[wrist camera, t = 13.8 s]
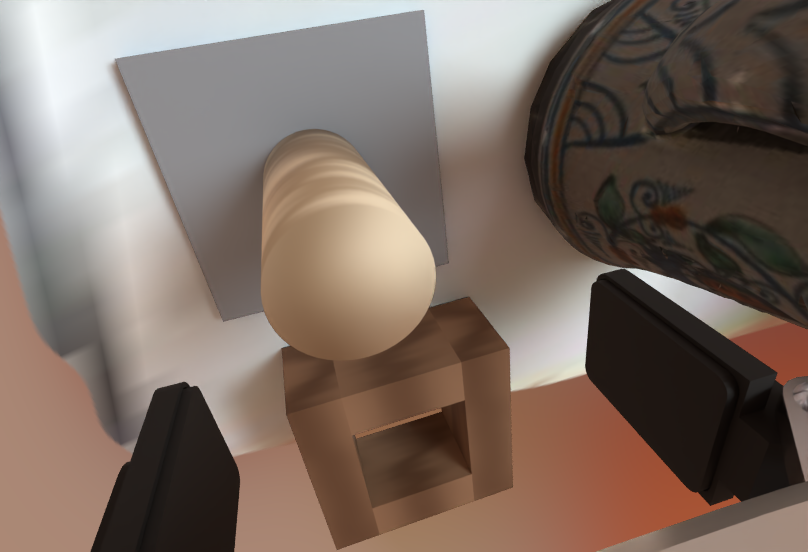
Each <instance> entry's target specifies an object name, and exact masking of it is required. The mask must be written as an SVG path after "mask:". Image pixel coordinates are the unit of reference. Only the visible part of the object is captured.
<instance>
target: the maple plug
mask: <svg viewBox="0 0 808 552" xmlns="http://www.w3.org/2000/svg"><path fill="white" fill-rule="evenodd" d="M435 284H436V268H435V263H434V258H433V255H432V252H431V250H430V248H429V246H428V244H427V242H426V240H425V239H424V238H423V236H422V235H421V234H420V232H419V231H418V230H417V228H416V227H415V226H414V224H413V223H412V222H411V221H410V219H409V218H408V217H407V215H406V214H405V213H404V211H403V210H402V209H401V208H400V206H399V205H398V204H397V202H396V201H395V200H394V198H393V197H392V196H391V194H390V193H389V192H388V191H387V189H386V188H385V187H384V185H383V184H382V183H381V181H380V180H379V179H378V178H377V176H376V175H375V174H374V172H373V171H372V170H371V168H370V167H369V166H368V165H367V163H366V162H365V161H364V159H363V158H362V157H361V155H360V154H359V153H358V151H357V150H356V149H355V148H354V146H353V145H352V144H351V143H350V142H348V141H347V140H346V139H345V138H343V137H341V136H340V135H338V134H336V133H333V132H331V131H327V130H322V129H306V130H301V131H298V132H295V133H293V134H290V135H289V136H287V137H285V138H284V139H282V140H281V141H280V142H279V143H278V144H277V145H276V146H275V147H274V148H273V150H272V151H271V153H270V154H269V156H268V158H267V161H266V164H265V167H264V173H263V213H262V258H261V299H262V305H263V308H264V312H265V314H266V317H267V319H268V321H269V323H270V324H271V326H272V327H273V329H274V330H275V332H276V333H277V334H278V335H279V336H280V337H281V338H282V339H283V340H284V341H285V342H287V343H288V344H289V345H290V346H292V347H294V348H295V349H297V350H299V351H301V352H303V353H305V354H307V355H310V356H313V357H316V358H321V359H326V360H336V361H345V360H355V359H361V358H365V357H369V356H372V355H375V354H378V353H380V352H383V351H385V350H387V349H389V348H391V347H392V346H394V345H396V344H397V343H399V342H400V341H401V340H403V339H404V338H405V337H406V336H407V335H409V334H410V333H411V332H412V331H413V330H414V329H415V327H416V326H417V325H418V324H419V323H420V321H421V320H422V318H423V317H424V315H425V314H426V312H427V310H428V308H429V306H430V303H431V301H432V298H433V295H434V290H435Z"/></svg>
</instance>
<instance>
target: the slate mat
mask: <svg viewBox="0 0 808 552" xmlns="http://www.w3.org/2000/svg"><path fill="white" fill-rule="evenodd" d="M115 60H116V63H117V65H118V68H119V70H120V72H121V75H122V77H123V80H124V82H125V85H126V87H127V89H128V92H129V94H130V97H131V99H132V101H133V104H134V106H135V109H136V111H137V114H138V116H139V118H140V121H141V123H142V126H143V128H144V131H145V133H146V135H147V138H148V140H149V143H150V145H151V148H152V150H153V152H154V155H155V157H156V160H157V162H158V164H159V167H160V169H161V172H162V174H163V177H164V179H165V181H166V184H167V186H168V189H169V191H170V194H171V196H172V198H173V201H174V203H175V206H176V208H177V211H178V213H179V215H180V218H181V220H182V223H183V225H184V228H185V230H186V232H187V235H188V237H189V240H190V242H191V244H192V247H193V249H194V252H195V254H196V257H197V259H198V261H199V264H200V266H201V269H202V271H203V274H204V276H205V278H206V281H207V283H208V286H209V288H210V291H211V293H212V295H213V298H214V300H215V303H216V305H217V307H218V310H219V312H220V315H221V317H222V320H223V322H224V321H228V320H232V319H236V318H240V317H243V316H247V315H251V314H255V313H259V312H263V311H264V308H263V305H262V299H261V258H262V213H263V173H264V167H265V164H266V161H267V158H268V156H269V154H270V153H271V151H272V150H273V148H274V147H275V146H276V145H277V144H278V143H279V142H280V141H281V140H282V139H284V138H285V137H287V136H289V135H290V134H293V133H295V132H298V131H301V130H306V129H322V130H327V131H331V132H333V133H336V134H338V135H340V136H341V137H343V138H345V139H346V140H347V141H348V142H350V143H351V144H352V145H353V146H354V148H355V149H356V150H357V151H358V153H359V154H360V155H361V157H362V158H363V159H364V161H365V162H366V163H367V165H368V166H369V167H370V168H371V170H372V171H373V172H374V174H375V175H376V176H377V178H378V179H379V180H380V181H381V183H382V184H383V185H384V187H385V188H386V189H387V191H388V192H389V193H390V194H391V196H392V197H393V198H394V200H395V201H396V202H397V204H398V205H399V206H400V208H401V209H402V210H403V211H404V213H405V214H406V215H407V217H408V218H409V219H410V221H411V222H412V223H413V224H414V226H415V227H416V228H417V230H418V231H419V232H420V234H421V235H422V236H423V238H424V239H425V240H426V242H427V244H428V246H429V248H430V250H431V252H432V255H433V258H434V263H435V267H436V266H440V265H444V264H448V263H449V261H448V250H447V240H446V230H445V220H444V210H443V199H442V189H441V179H440V169H439V158H438V148H437V138H436V128H435V118H434V107H433V97H432V87H431V77H430V66H429V56H428V46H427V36H426V26H425V15H424V10H420V11H413V12H407V13H401V14H394V15H388V16H382V17H375V18H369V19H363V20H356V21H350V22H344V23H338V24H331V25H325V26H319V27H312V28H306V29H300V30H293V31H287V32H281V33H275V34H268V35H262V36H256V37H249V38H243V39H237V40H230V41H224V42H218V43H211V44H205V45H199V46H193V47H186V48H180V49H174V50H167V51H161V52H155V53H148V54H142V55H136V56H130V57H123V58H118V59H115Z"/></svg>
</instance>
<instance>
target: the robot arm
mask: <svg viewBox="0 0 808 552" xmlns="http://www.w3.org/2000/svg"><path fill="white" fill-rule="evenodd" d="M585 368H586V372H587V375H588V377H589V379H590V380H591V381H592V382H593V384H594V385H595V386H596V387H597V388H598V389H599V390H600V391H601V392H602V394H603V395H604V396H605V397H606V398H607V399H608V400H609V401H610V402H611V404H612V405H613V406H614V407H615V408H616V409H617V410H618V411H619V412H620V414H621V415H622V416H623V417H624V418H625V419H626V420H627V421H628V423H630V425H631V426H632V427H633V428H634V429H635V430H636V431H637V433H638V434H639V435H640V436H641V437H642V438H643V439H644V440H645V441H646V443H647V444H648V445H649V446H650V447H651V448H652V449H653V450H654V451H655V453H656V454H657V455H658V456H659V457H660V458H661V459H662V460H663V462H664V463H665V464H666V465H667V466H668V467H669V468H670V469H671V470H672V472H673V473H674V474H675V475H676V476H677V477H678V478H679V479H680V481H681V482H682V483H683V484H684V485H685V486H686V487H687V488H688V489H689V490H691V491H692V492H698V493H699V494H700V495H701V496H702V497H703V498H704V499H705V500H706V502H708V504H709V505H710V506H711V505H714V504H717V503H720V502H722V501H725V500H728V499H731V498H733V496H734V495H735V496H736V497H737V498H738V499H739V500H740V501H741V502H739V503H736V504H733V505H730V506H727V507H724V508H721V509H718V510H715V511H712V512H710V513H706V514H704V515H701V516H698V517H695V518H692V519H689V520H686V521H683V522H681V523H678V524H675V525H672V526H669V527H666V528H663V529H660V530H657V531H654V532H651V533H649V534H646V535H643V536H640V537H637V538H634V539H632V540H629V541H625V542H623V543H620V544H617V545H614V546H611V547H608V548H606V549H603V550H600V551H597V552H808V376H804V377H796V378H794V379H791V380H789V381H788V382H787V383H786V384H785V385H784V386H783V385H781V384H780V383H778V382H777V381H776V380H775V379H776V376H777V372H776V371H774V370H773V369H771V368H770V367H768V366H767V365H765V364H764V363H762V362H761V361H759V360H758V359H757V358H755V357H754V356H752V355H751V354H749V353H748V352H746V351H745V350H743V349H742V348H741V347H739V346H738V345H736V344H735V343H733V342H732V341H730V340H729V339H727V338H726V337H724V336H723V335H721V334H720V333H719V332H717V331H716V330H714V329H713V328H711V327H710V326H708V325H707V324H705V323H704V322H702V321H701V320H699V319H698V318H697V317H695V316H694V315H692V314H691V313H689V312H688V311H686V310H685V309H683V308H682V307H680V306H679V305H677V304H676V303H675V302H673V301H672V300H670V299H669V298H667V297H666V296H664V295H663V294H661V293H660V292H658V291H657V290H655V289H654V288H653V287H651V286H650V285H648V284H647V283H645V282H644V281H642V280H641V279H639V278H638V277H636V276H635V275H634V274H632V273H631V272H629V271H627V270H625V269H619V270H615V271H611V272H607V273H604V274H601V275H599V276H598V278H597V281H596V282H594V283H593V284H592V288H591V300H590V313H589V325H588V338H587V350H586V363H585ZM239 488H240V476H239V471H238V467H237V465H236V463H235V461H234V459H233V457H232V455H231V453H230V450H229V448H228V446H227V444H226V442H225V440H224V438H223V436H222V434H221V432H220V430H219V428H218V426H217V424H216V422H215V420H214V418H213V416H212V413H211V411H210V409H209V407H208V405H207V403H206V401H205V399H204V397H203V395H202V393H201V391H200V389H199V388H198V387H197V386H193V387H190V386H189V384H187V383H186V382H182V383H178V384H174V385H170V386H166V387H162V388H158V389H157V390H155V392H154V394H153V397H152V400H151V403H150V406H149V409H148V412H147V414H146V417H145V420H144V423H143V426H142V429H141V432H140V435H139V438H138V441H137V444H136V446H135V449H134V452H133V455H132V458H131V461H130V462H127V463H126V464H124V465H123V466H122V468H121V470H120V472H119V474H118V477H117V480H116V482H115V485H114V488H113V491H112V494H111V496H110V499H109V502H108V505H107V508H106V510H105V513H104V516H103V518H102V522H101V524H100V527H99V530H98V532H97V535H96V538H95V541H94V544H93V546H92V549H91V552H234V548H235V536H236V523H237V512H238V499H239Z"/></svg>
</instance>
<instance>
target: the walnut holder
mask: <svg viewBox="0 0 808 552" xmlns="http://www.w3.org/2000/svg"><path fill="white" fill-rule="evenodd" d="M282 359H283V373H284V388H285V402H286V415H287V418H288V420H289V423H290V426H291V428H292V431H293V434H294V436H295V439H296V442H297V444H298V447H299V450H300V452H301V455H302V458H303V461H304V463H305V466H306V469H307V471H308V474H309V477H310V479H311V482H312V484H313V487H314V490H315V492H316V495H317V498H318V501H319V503H320V506H321V508H322V511H323V514H324V516H325V519H326V522H327V525H328V527H329V530H330V532H331V535H332V538H333V540H334V543H335V546H336V549H337V550H338V549H341V548H344V547H347V546H349V545H352V544H355V543H358V542H361V541H363V540H366V539H369V538H372V537H375V536H377V535H380V534H383V533H386V532H389V531H392V530H394V529H397V528H400V527H403V526H406V525H408V524H411V523H414V522H417V521H420V520H422V519H425V518H428V517H431V516H433V515H437V514H439V513H442V512H445V511H447V510H451V509H453V508H456V507H459V506H462V505H465V504H467V503H470V502H473V501H476V500H478V499H481V498H484V497H487V496H490V495H493V494H495V493H498V492H501V491H504V490H507V489H509V488H512V487H513V476H512V434H511V395H510V394H511V391H510V349H509V347H508V345H507V344H506V343H505V342H504V340H503V339H502V338H501V336H500V335H499V334H498V333H497V331H496V330H495V329H494V328H493V326H492V325H491V324H490V323H489V321H488V320H487V319H486V317H485V316H484V315H483V314H482V312H481V311H480V310H479V309H478V307H477V306H476V305H475V303H474V302H473V301H472V300H471V298H470V297H467V298H463V299H460V300H456V301H452V302H449V303H445V304H441V305H438V306H434V307H431V308H428V310H427V312H426V314H425V315H424V317H423V318H422V320H421V321H420V323H419V324H418V325H417V326H416V327H415V329H414V330H413V331H412V332H411V333H410V334H409V335H407V336H406V337H405V338H404V339H403V340H401V341H400V342H399V343H397V344H396V345H394V346H392V347H391V348H389V349H387V350H385V351H383V352H380V353H378V354H375V355H372V356H369V357H365V358H361V359H355V360H345V361H336V360H326V359H321V358H316V357H313V356H310V355H307V354H305V353H303V352H301V351H299V350H297V349H295V348H294V347H292V346H289V347H285V348H282ZM438 408H442V412H439V413H436V414H433V415H430V416H427V417H424V418H421V419H417V420H415V421H411V422H408V423H405V424H402V425H398V426H396V427H392V428H389V429H386V430H383V431H380V432H376V433H373V434H370V435H367V436H364V437H361V438H358V439H356V437H355V435H356V434H359V433H362V432H365V431H369V430H372V429H375V428H378V427H381V426H384V425H388V424H391V423H394V422H397V421H400V420H403V419H407V418H410V417H413V416H416V415H419V414H423V413H426V412H429V411H432V410H435V409H438Z"/></svg>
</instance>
